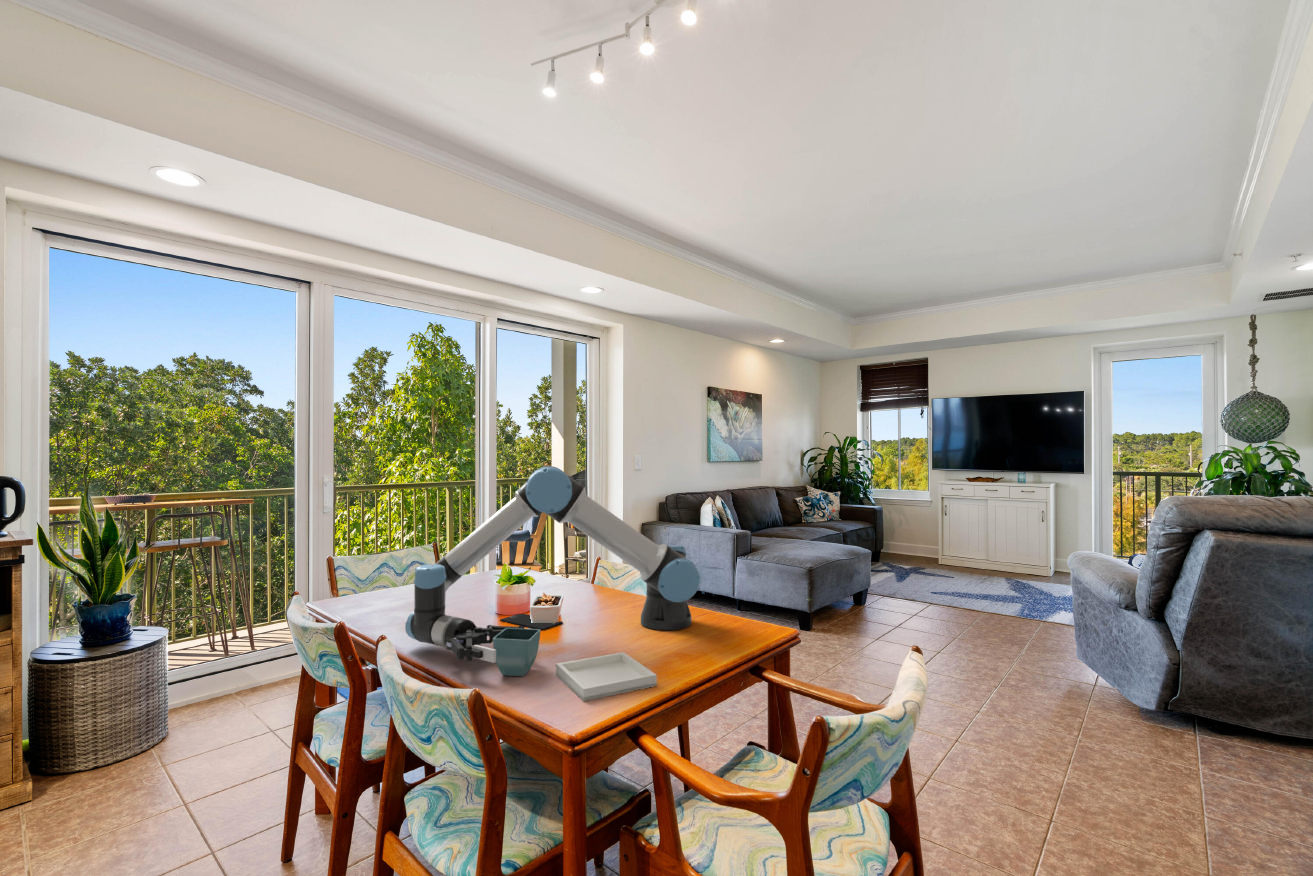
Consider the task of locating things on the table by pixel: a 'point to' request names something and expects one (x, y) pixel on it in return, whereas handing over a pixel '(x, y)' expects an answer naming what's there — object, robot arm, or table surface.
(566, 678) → the tray
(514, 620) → the cell phone
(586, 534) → the robot arm
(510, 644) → the flower pot
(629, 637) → the table surface
